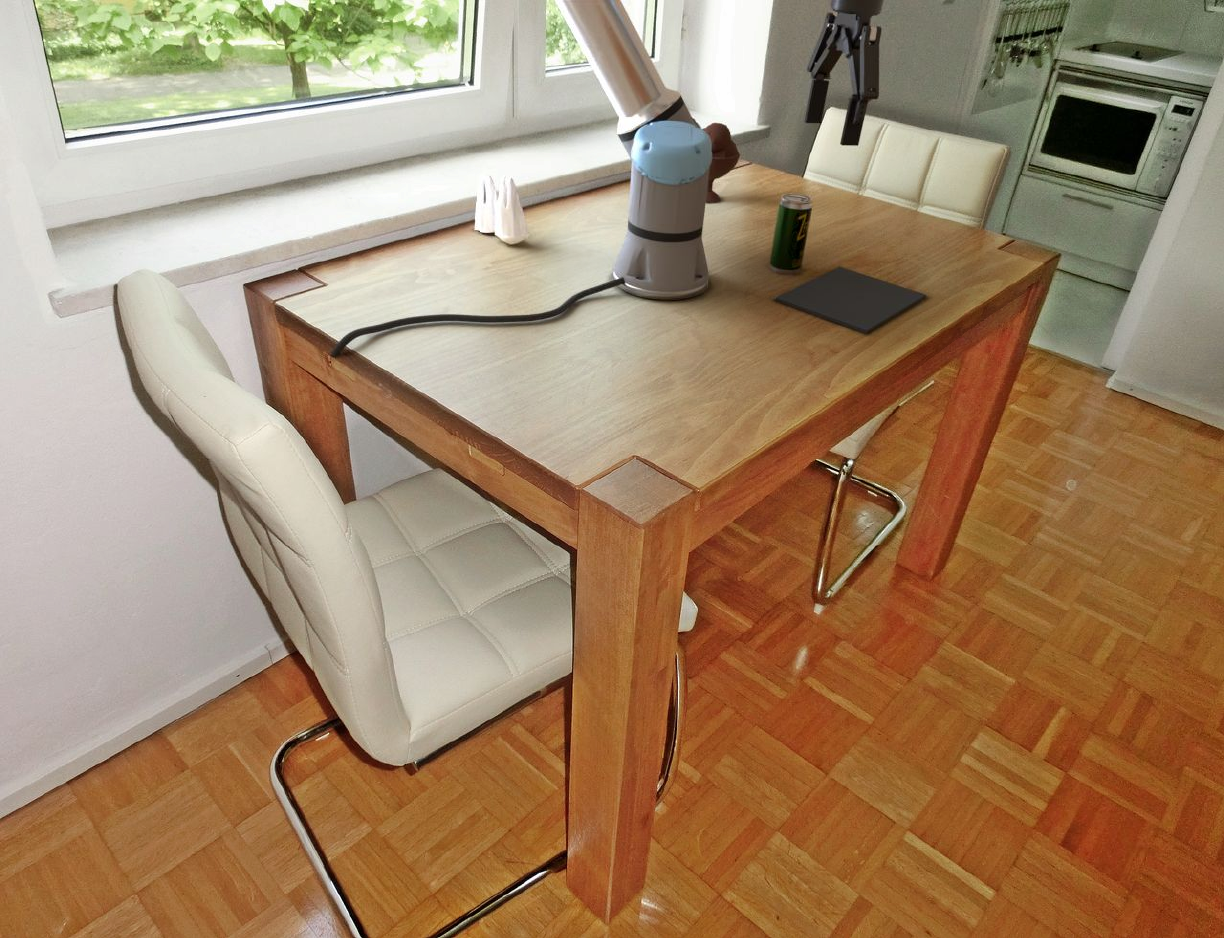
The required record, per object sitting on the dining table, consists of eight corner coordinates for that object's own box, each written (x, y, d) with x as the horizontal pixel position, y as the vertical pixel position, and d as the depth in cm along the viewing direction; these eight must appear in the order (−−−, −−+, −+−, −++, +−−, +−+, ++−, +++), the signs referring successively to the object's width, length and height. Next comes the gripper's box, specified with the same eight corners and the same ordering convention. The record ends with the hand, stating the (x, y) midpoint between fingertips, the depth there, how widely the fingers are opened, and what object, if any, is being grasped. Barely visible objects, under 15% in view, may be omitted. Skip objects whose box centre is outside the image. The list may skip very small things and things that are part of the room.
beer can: (764, 269, 151) (775, 198, 144) (775, 260, 155) (786, 190, 148) (794, 277, 149) (807, 205, 142) (805, 267, 153) (818, 197, 146)
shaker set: (531, 245, 154) (531, 181, 148) (510, 250, 152) (510, 184, 146) (492, 225, 162) (491, 163, 155) (472, 229, 159) (470, 166, 153)
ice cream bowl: (742, 197, 184) (752, 121, 175) (717, 210, 176) (727, 131, 167) (696, 187, 188) (704, 112, 180) (670, 199, 180) (677, 121, 172)
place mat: (866, 334, 131) (867, 330, 131) (774, 300, 140) (775, 297, 140) (925, 298, 144) (926, 294, 144) (838, 269, 153) (839, 266, 152)
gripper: (927, -5, 121) (888, 155, 133) (846, -26, 141) (819, 114, 153) (877, -8, 120) (843, 155, 131) (802, -29, 139) (778, 113, 151)
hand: (830, 133), depth 142 cm, fingers open, 13 cm apart
